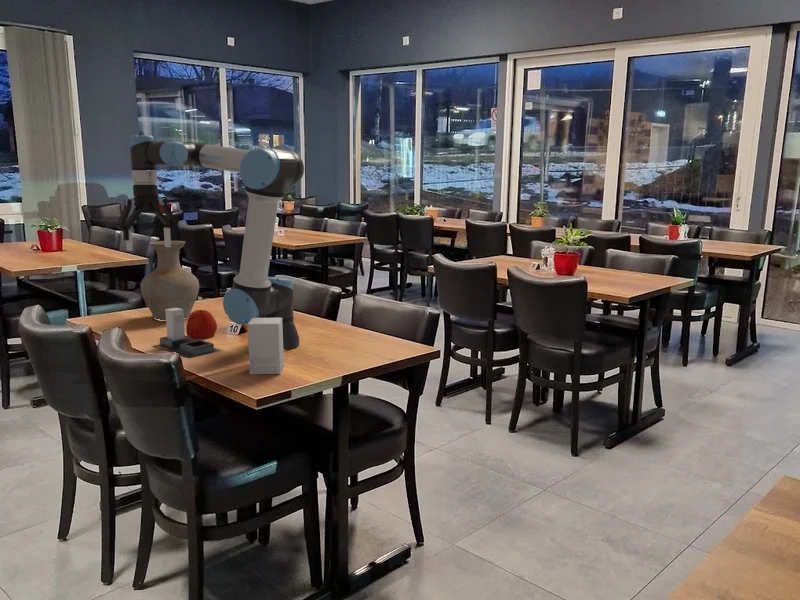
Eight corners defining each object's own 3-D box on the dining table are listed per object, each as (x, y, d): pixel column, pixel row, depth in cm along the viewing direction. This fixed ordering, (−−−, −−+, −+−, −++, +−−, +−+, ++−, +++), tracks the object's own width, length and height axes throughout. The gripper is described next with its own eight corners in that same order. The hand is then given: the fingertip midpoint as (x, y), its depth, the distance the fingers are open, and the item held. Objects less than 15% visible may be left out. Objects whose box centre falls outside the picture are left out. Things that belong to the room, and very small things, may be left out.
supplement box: (284, 365, 199) (283, 316, 196) (280, 374, 190) (279, 323, 188) (254, 365, 199) (252, 317, 196) (248, 374, 190) (246, 323, 187)
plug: (186, 345, 217) (184, 309, 215) (175, 347, 214) (173, 311, 212) (178, 343, 220) (176, 307, 218) (167, 345, 217) (165, 309, 215)
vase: (187, 310, 279) (183, 238, 273) (209, 318, 262) (205, 242, 256) (134, 316, 265) (129, 241, 259) (154, 326, 248) (148, 246, 243)
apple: (223, 337, 233) (221, 308, 231) (203, 344, 224) (201, 313, 222) (200, 334, 237) (198, 305, 235) (179, 340, 228) (177, 311, 226)
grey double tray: (222, 354, 211) (222, 343, 210) (189, 362, 202) (188, 350, 202) (184, 342, 225) (183, 332, 225) (151, 349, 216) (150, 338, 216)
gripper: (173, 183, 229) (177, 244, 233) (101, 184, 210) (107, 251, 214) (185, 183, 224) (188, 246, 228) (113, 184, 205) (118, 252, 209)
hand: (149, 248), depth 221 cm, fingers open, 13 cm apart
